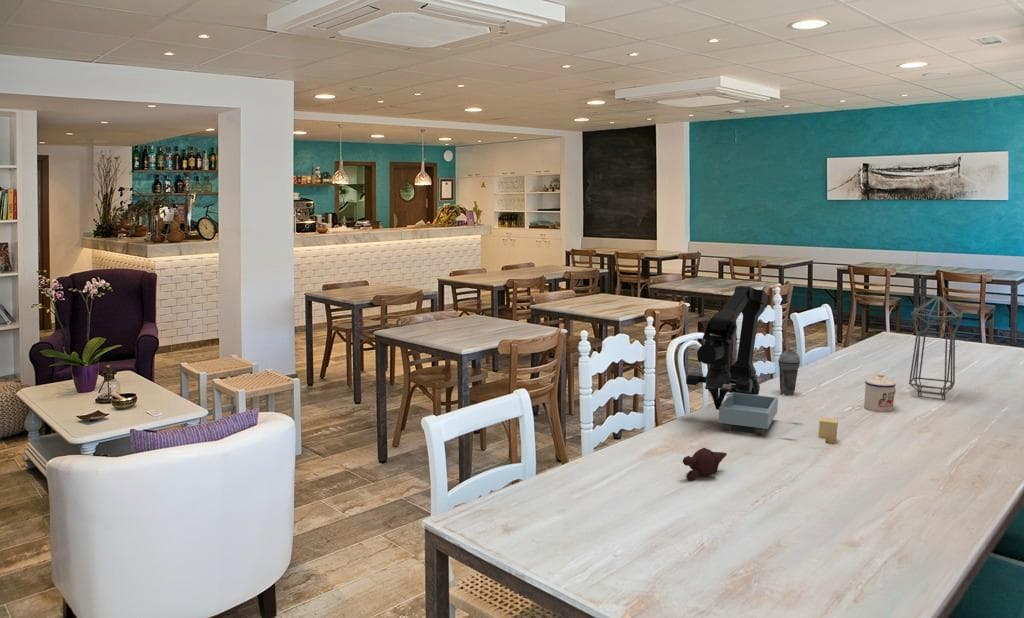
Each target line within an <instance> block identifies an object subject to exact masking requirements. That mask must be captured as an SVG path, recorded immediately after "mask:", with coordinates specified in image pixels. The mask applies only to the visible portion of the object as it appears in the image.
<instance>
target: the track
mask: <svg viewBox="0 0 1024 618" xmlns="http://www.w3.org/2000/svg"><path fill="white" fill-rule="evenodd" d="M772 422H775V423H781V424H783V423H784V424H789V425H790V424H791V425H796V426H797V425H798V426H806V424H805V423H799V422H794V421H793V422H792V421H786V420H785V421H783V420H776V419H773V420H772ZM724 432H725V433H733V434H740V435H747V436H756V437H761V438H762V437H763V438H769V439H777V440H784V441H792V442H799V439H795V438H789V437H788V438H787V437H781V436H773V435H767V434H766V435H765V434H762V435H760V436H759V435H757V434H756V433H752V432H744V431H735V430H731V429H730V430H729V431H725V430H724Z"/></svg>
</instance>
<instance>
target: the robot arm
mask: <svg viewBox="0 0 1024 618" xmlns="http://www.w3.org/2000/svg"><path fill="white" fill-rule="evenodd" d="M768 300H769V296H768V293H766V291H765V290H764V289H757V288H754V287H752V286H749V285H748V286H746V285H738V286H737V285H736V286H735V287H734V292H733V294H732V295H731V296H730V298H729V300H728V301H727V303H726V304H725V306H724V307H723V308H722V310H720V311H717V312H715V313H714V314H713V315H712V316H711V317H710V318H709V319H708V321H707V325H706V327H705V331H704V332H703V337H702V340H703V341H704V343H703V344H702V345H701V346H700V347H699V348H698V349H697V353H696V354H697V355H696V356H697V358H698V360H699V361H700V362H701V363H703V364H705V365H709V367H708V369H707V373H706V375H705V376H704V373H703V372H694V371H692V372H690V373H689V374H688V375H686V377H685V384H686V385H688V386H697V385H698V384H699V383H701V384H702V383H703V384H705V386H704V390H708V392H709V393H710V395H711V397H712V401H713V403H714V406H715V409H716V410H717V411H719V407H720V406H721V405H722V404H723V402H724V399H725V397H726V395H727V393H728V392H731V393H732V392H734V393H743V394H751V395H759V393H760V390H761V389H760V387H761V386H760V383H759V381H758V379H757V370H756V368H755V366H754V363H753V358H754V354H755V351H754V350H755V345H756V344H755V343H756V337H757V329H758V323H759V317H760V316H761V315H762V314H763V313H764V312H765V310H766V305H768ZM740 314H742V322H741V327H740V335H739V341H738V342H739V343H738V349H737V350H738V351H737V355H736V356H737V357H736V361H735V362H734V363H733V364H731V349H732V342H733V339H734V337H735V335H736V331H737V330H738V326H737V320H738V318H739V317H740Z"/></svg>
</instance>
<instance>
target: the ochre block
mask: <svg viewBox="0 0 1024 618" xmlns="http://www.w3.org/2000/svg"><path fill="white" fill-rule="evenodd" d="M838 422H839V419H838V418H833V417H832V418H831V417H825V416H820V418H819V425H818V427H819V428H818V438H824V439H825V441H824V442H825V443H827V442H829V444H834V443H835V444H836V443H837V437H838V436H837V435H838V424H839V423H838Z"/></svg>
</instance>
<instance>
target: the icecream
mask: <svg viewBox="0 0 1024 618" xmlns="http://www.w3.org/2000/svg"><path fill="white" fill-rule="evenodd" d="M727 455H728V453H727V452H720V451H712V450H711V449H708V448H706V447H702V448H700V449H698V450H696V451H695V452H694V453H693V455H692V456H690V455H687V456H685V457H683V458H682V463H683V465H684V466H687V467H689V468H690V470H689V471H688V472H687V473H686V477H685V478H686V479H687V480H688V481H692V480H695V479H696V478H697V477H698V476H699V475H700V476H711V475H715V474H716V473H718V469H719V465H720V464H721V462H722V461H723V459H724V458H726V456H727Z"/></svg>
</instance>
